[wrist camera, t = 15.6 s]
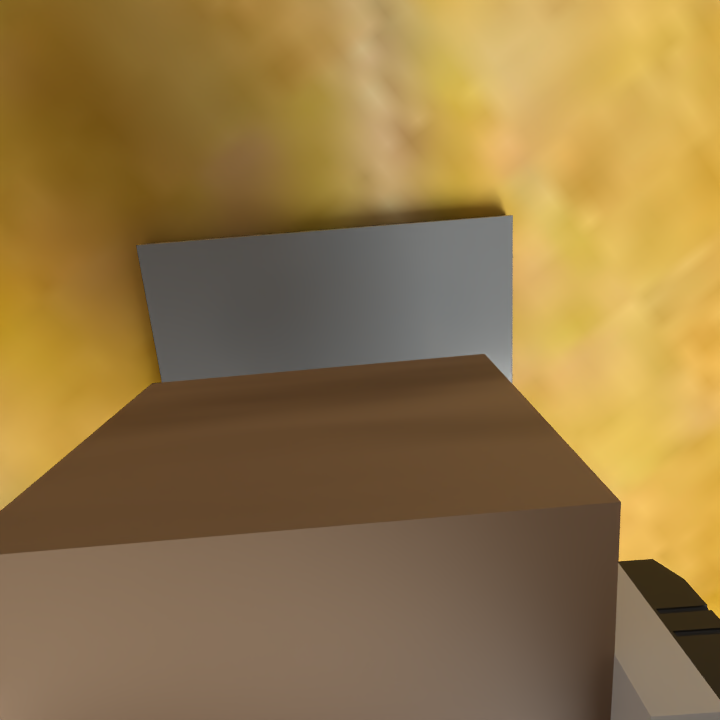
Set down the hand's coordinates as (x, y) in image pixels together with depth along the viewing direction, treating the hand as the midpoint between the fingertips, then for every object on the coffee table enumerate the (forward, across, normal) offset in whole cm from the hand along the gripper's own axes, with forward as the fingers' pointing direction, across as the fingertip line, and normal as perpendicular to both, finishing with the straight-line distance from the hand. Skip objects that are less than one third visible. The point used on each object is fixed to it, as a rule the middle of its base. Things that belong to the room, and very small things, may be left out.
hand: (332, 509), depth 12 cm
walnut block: (0, 0, 0) cm, 0 cm away
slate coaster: (+6, 0, 0) cm, 6 cm away
